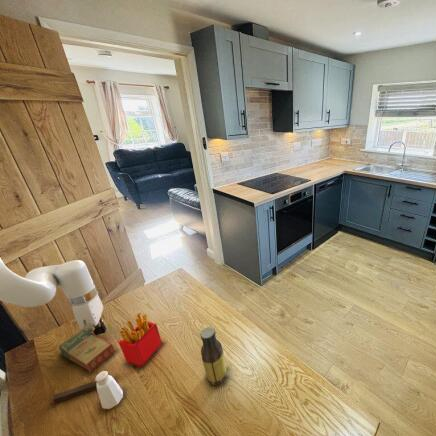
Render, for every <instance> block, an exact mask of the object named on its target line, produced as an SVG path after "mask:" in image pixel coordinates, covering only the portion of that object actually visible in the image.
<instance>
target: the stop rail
mask: <svg viewBox="0 0 436 436" xmlns="http://www.w3.org/2000/svg"><path fill="white" fill-rule="evenodd" d="M111 376H112V377H113V378H114V376H113V375H111ZM95 390H97V381H96V380H94V381H92V382H89V383H85V384H83V385H80V386H77V387H73V388H71V389H68V390H65V391H62V392H59V393H56V394H54V396H53V398H52V401H53V403H54V404H58V403H60V402H64V401H66V400H69V399H72V398H75V397H78V396H81V395H84V394H88V393H90V392H92V391H95Z"/></svg>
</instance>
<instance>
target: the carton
mask: <svg viewBox="0 0 436 436" xmlns="http://www.w3.org/2000/svg"><path fill="white" fill-rule="evenodd" d="M58 349H59V351H60V352H61V355H63V357H65V358H67V359H68V360H70V361H72V362H73V363H75V364H77V365H78V366H80V367H81V368H83V369H85V370H86V371H88V373H91V372H92V371H93V370H95V369H96V368H98V366H100V365H101V364H102V363H103V362H105V361H106V360H107V359H108V358H109V357H110V356H112V355H113V354H114V353H115V352H116V350H115V348H114V345H113V343H112V342H110V341H108V340H106V339H104V338H102V337H101V336H99V335H95V334H94V332H93V331H92V332H88V329H87V328H84V329H83V330H80V331H79V332H78V333H76V334H74V335H73V336H72V337H70V338H69V339H67V340H66V341H64V342H63V343H61V344H60V345H58Z"/></svg>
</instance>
